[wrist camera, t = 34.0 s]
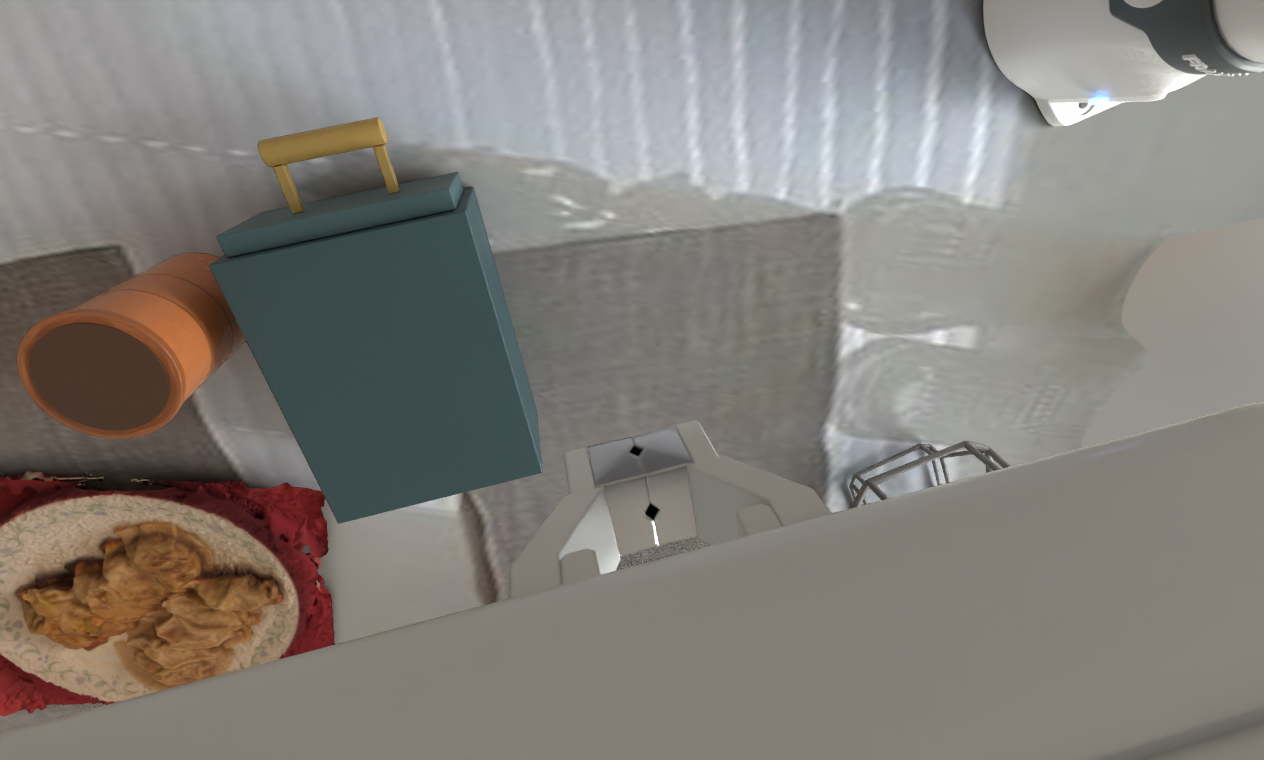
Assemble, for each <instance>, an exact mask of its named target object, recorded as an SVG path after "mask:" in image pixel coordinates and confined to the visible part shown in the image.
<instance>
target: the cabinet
mask: <svg viewBox="0 0 1264 760" xmlns="http://www.w3.org/2000/svg"><path fill="white" fill-rule="evenodd" d="M209 268H210V270H211V271H212V273H213V275H214V277H215V279H216V281H217V283H218V285H219V287H220V289H221V291H222V293H223V295H224V297H225V299H226V301H227V303H228V305H229V307H230V309H231V311H232V313H233V315H234V317H235V319H236V321H237V323H238V325H239V327H240V329H241V331H242V333H243V335H244V337H245V339H246V341H247V343H248V345H249V347H250V349H251V351H252V353H253V355H254V357H255V359H256V361H257V363H258V365H259V367H260V369H261V371H262V373H263V375H264V377H265V379H266V381H267V383H268V385H269V387H270V389H271V391H272V393H273V395H274V397H275V399H276V401H277V403H278V405H279V407H280V409H281V411H282V413H283V415H284V417H285V419H286V421H287V423H288V425H289V427H290V429H291V431H292V433H293V435H294V437H295V439H296V441H297V443H298V445H299V447H300V448H301V450H302V452H303V454H304V456H305V458H306V460H307V462H308V464H309V466H310V468H311V470H312V472H313V474H314V476H315V478H316V480H317V482H318V484H319V486H320V488H321V490H322V492H323V494H324V496H325V498H326V500H327V502H328V504H329V506H330V508H331V510H332V512H333V514H334V516H335V518H336V520H337V522H338V523H343V522H347V521H351V520H355V519H359V518H363V517H367V516H371V515H375V514H379V513H383V512H387V511H391V510H395V509H399V508H403V507H407V506H411V505H415V504H419V503H423V502H427V501H431V500H435V499H439V498H443V497H447V496H451V495H455V494H459V493H463V492H467V491H471V490H475V489H479V488H483V487H487V486H491V485H495V484H499V483H503V482H507V481H511V480H515V479H519V478H523V477H527V476H531V475H535V474H539V473H542V460H541V450H540V439H539V428H538V418H537V410H536V407H535V403H534V399H533V396H532V392H531V389H530V385H529V382H528V378H527V375H526V371H525V368H524V364H523V361H522V357H521V353H520V350H519V346H518V343H517V339H516V336H515V332H514V329H513V325H512V322H511V318H510V314H509V311H508V307H507V304H506V300H505V297H504V293H503V290H502V286H501V283H500V279H499V276H498V272H497V268H496V265H495V261H494V258H493V254H492V251H491V247H490V244H489V240H488V237H487V233H486V230H485V226H484V222H483V219H482V215H481V212H480V208H479V205H478V201H477V198H476V194H475V191H474V187H471V188H466V189H463V193H462V195H461V198H460V200H459V203H458V205H457V208H456V210H452V211H447V212H443V213H438V214H433V215H428V216H424V217H419V218H414V219H409V220H405V221H400V222H395V223H390V224H386V225H381V226H376V227H371V228H367V229H362V230H357V231H353V232H348V233H343V234H338V235H334V236H329V237H324V238H319V239H315V240H310V241H305V242H300V243H296V244H291V245H286V246H282V247H277V248H272V249H267V250H263V251H258V252H253V253H248V254H244V255H239V256H234V257H229V258H227V257H226V256H225V255H224V256H222V257H221V258H219V259H218V260H216V261H215V262H213V263H211V264H210V265H209Z"/></svg>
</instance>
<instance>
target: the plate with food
mask: <svg viewBox="0 0 1264 760" xmlns="http://www.w3.org/2000/svg"><path fill="white" fill-rule="evenodd" d="M84 474H88V473H87V472H85V473H84ZM88 476H89V477H84V476H82V477H80V476H78V477H76V476H71V477H69V476H68V477H66V476H54V477H53V476H52V475H48V476H45V475H44V474H43V473H42V472H41V471H38V472H30V471H27V472H26V473H25V474H23V475H22V474H19V476H18V477H17V478H15V477H14V476H12V475H8V476H7V477H5V478H4V477H1V476H0V715H2V716H6V715H9V714H12V713H15V712H17V711H22V710H24V709H26V710H27V711H28V712H29V713H33V712H34V710H35V709H37V708H40V710H43V709H45V708H46V706H47V705H50V704H55V705H56V704H59V705H60V704H63V705H68V704H71V705H72V704H84V703H93V704H95V703H96V702H98V703H103V704H105V703H106V704H105V705H108V704H112V703H116V702H119V701H123V700H127V699H131V698H135V697H138V696H142V695H146V694H150V693H153V692H157V691H161V690H165V689H169V688H172V687H176V686H180V685H184V684H188V683H191V682H195V681H199V680H203V679H207V678H210V677H214V676H218V675H222V674H226V673H229V672H233V671H237V670H241V669H245V668H248V667H252V666H256V665H260V664H264V663H267V662H271V661H275V660H279V659H283V658H286V657H290V656H294V655H298V654H302V653H305V652H309V651H313V650H317V649H320V648H324V647H328V646H332V645H334V640H333V639H334V632H333V617H332V614H333V610H332V599H331V598H332V597H331V594H329V592H328V590H327V589H326V588H325V587H323V585H322V583H325V581H324V578H322V576H321V575H319V574H318V573H317V569H318V568H320V567H321V560H320V559H317V557H318V558H321V557H322V556H324V555H326V554H327V552H328V540H327V538H328V534H327V521H326V520H325V519H324V516H323V514H322V511H321V507H323V506H324V500H325V496H324V494H323V492H322V491H317V490H312V489H308V488H300V487H292V486H290V485H289V484H288V483H283V484H281V485H279V486H277V487H273V488H260V489H255V488H248V487H246V486H244V483H243V482H242V481H241V480H239V481H238V482H235V481H232V480H228V482H225V481H223V482H221V483H214V482H212V483H209V482H208V483H205V484H203V483H202V482H194V483H193V482H188V481H171V482H167V481H164V482H153V481H149V479H147V478H144V479H142V480H137V479H136V478H133V480H131V482H137V483H140V482H143V484H145V485H161V486H165V487H170V488H168V489H162V490H147V491H126V492H123V491H113V490H109V491H96V490H83V489H78V488H77V487H80V486H85V482H86V480H87V479H91V480H96V479H99V481H104V477H90V476H93V475H88ZM320 506H321V507H320ZM296 544H297V545H296ZM304 545H307V546H309V550H310V551H311V552H312V553H307V554H305V553H303V552H300V551H301V550H302V549H303V547H304ZM314 581H315V584H314ZM46 704H47V705H46Z"/></svg>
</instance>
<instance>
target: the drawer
mask: <svg viewBox="0 0 1264 760" xmlns="http://www.w3.org/2000/svg"><path fill="white" fill-rule="evenodd" d="M387 143H388V138H387V134H386V130H385V127H384V125H383V123H382V121H381V119H380V118H378V117H377V118H372V119H367V120H362V121H357V122H352V123H347V124H342V125H337V126H331V127H326V128H321V129H316V130H311V131H306V132H301V133H296V134H291V135H286V136H280V137H275V138H270V139H265V140H260V141H259V142H258V150H259V153H260V155H261V158H262V159H263V161H264V163H265V164H266V165H267V166H268V167H273V170H274V172H275V174H276V177H277V179H278V181H279V184H280V186H281V189H282V191H283V193H284V196H285V198H286V200H287V203H288V205H289V207H285V208H281V209H276V210H271V211H266V212H261V213H260V214H258V215H256V216H254V217H252V218H250V219H248V220H246V221H244V222H243V223H241V224H239V225H237V226H235V227H233V228H231V229H229V230H227V231H226V232H224V233H222V234H220V235H218V236H217V239H218V241H219V243H220V245H221V248H222V250H223V252H224V254H225V256H226V257H227V258H229V257H234V256H239V255H244V254H248V253H253V252H258V251H263V250H267V249H272V248H277V247H282V246H286V245H291V244H296V243H300V242H305V241H310V240H315V239H319V238H324V237H329V236H334V235H338V234H343V233H348V232H353V231H357V230H362V229H367V228H371V227H376V226H381V225H386V224H390V223H395V222H400V221H405V220H409V219H414V218H419V217H424V216H428V215H433V214H438V213H443V212H447V211H452V210H456V208H457V205H458V203H459V200H460V198H461V195H462V193H463V187H462V184H461V180H460V177H459V173H458V172H455V173H450V174H446V175H441V176H436V177H431V178H426V179H421V180H417V181H412V182H407V183H402V184H398V182H397V179H396V176H395V173H394V170H393V167H392V164H391V161H390V158H389V155H388V152H387V149H386V146H385V145H384V144H387ZM369 147H373V149H374V152H375V155H376V158H377V161H378V164H379V167H380V170H381V172H382V175H383V178H384V181H385V184H386V187H383V188H378V189H373V190H368V191H363V192H358V193H353V194H349V195H344V196H339V197H334V198H329V199H324V200H319V201H315V202H310V203H305V204H302V201H301V199H300V196H299V194H298V192H297V189H296V187H295V184H294V182H293V179H292V177H291V175H290V172H289V170H288V167H287V165H286V164H289V163H294V162H299V161H304V160H309V159H314V158H319V157H324V156H329V155H334V154H339V153H344V152H349V151H354V150H359V149H364V148H369ZM274 166H275V167H274Z"/></svg>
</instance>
